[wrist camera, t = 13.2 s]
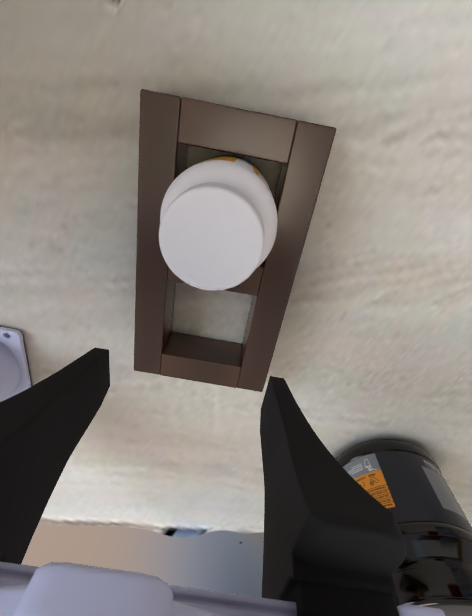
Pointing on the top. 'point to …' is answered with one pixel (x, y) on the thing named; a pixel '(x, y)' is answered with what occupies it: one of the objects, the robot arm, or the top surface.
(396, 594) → the supplement container
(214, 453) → the top surface
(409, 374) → the top surface
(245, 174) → the supplement bottle
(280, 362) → the top surface
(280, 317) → the hole block
